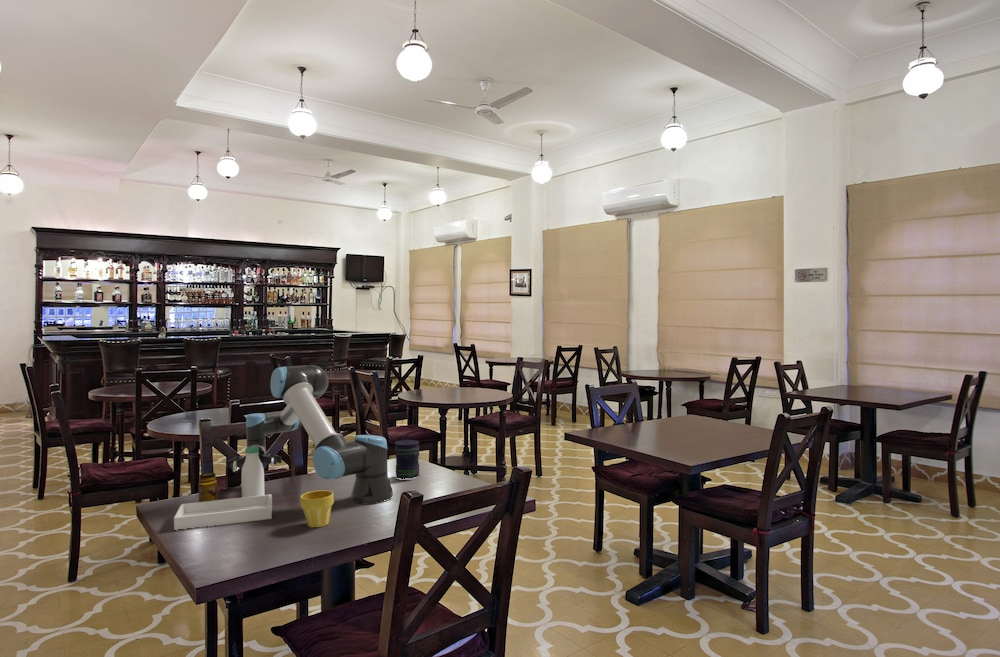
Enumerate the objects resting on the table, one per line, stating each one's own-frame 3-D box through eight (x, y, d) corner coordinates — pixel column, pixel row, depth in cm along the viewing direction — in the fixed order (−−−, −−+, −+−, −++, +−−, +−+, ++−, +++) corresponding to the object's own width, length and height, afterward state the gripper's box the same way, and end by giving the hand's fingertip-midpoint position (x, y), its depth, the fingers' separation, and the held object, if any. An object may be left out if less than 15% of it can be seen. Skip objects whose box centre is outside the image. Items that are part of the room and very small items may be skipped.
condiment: (220, 507, 216) (219, 474, 216) (193, 512, 211) (192, 478, 211) (216, 502, 222) (216, 470, 222) (191, 507, 217) (190, 474, 217)
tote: (271, 505, 218) (271, 494, 218) (271, 518, 203) (271, 506, 203) (181, 515, 208) (181, 504, 208) (174, 530, 193) (173, 518, 193)
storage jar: (424, 477, 253) (423, 441, 252) (405, 482, 246) (404, 445, 245) (409, 473, 259) (408, 438, 259) (390, 478, 252) (390, 442, 252)
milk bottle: (268, 501, 222) (267, 447, 222) (247, 506, 217) (246, 451, 216) (258, 497, 228) (257, 444, 227) (238, 502, 222) (236, 448, 222)
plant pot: (294, 528, 193) (293, 497, 193) (313, 518, 203) (312, 489, 203) (322, 531, 190) (321, 500, 190) (340, 520, 200) (339, 490, 200)
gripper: (287, 461, 255) (288, 472, 235) (222, 467, 247) (217, 479, 227) (287, 443, 255) (287, 453, 235) (222, 448, 246) (217, 459, 227)
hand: (253, 466), depth 231 cm, fingers open, 13 cm apart
